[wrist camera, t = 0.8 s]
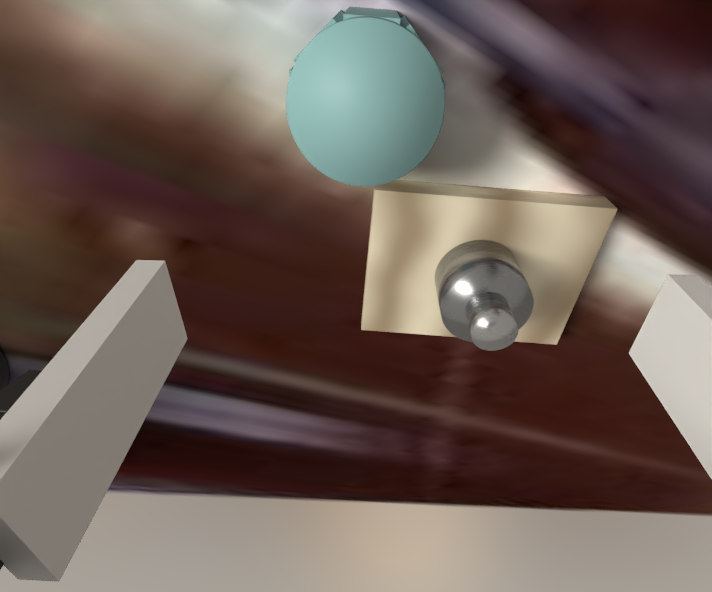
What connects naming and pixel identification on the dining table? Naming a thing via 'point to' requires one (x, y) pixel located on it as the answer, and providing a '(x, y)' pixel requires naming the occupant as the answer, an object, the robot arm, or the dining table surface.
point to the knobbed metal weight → (483, 294)
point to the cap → (365, 98)
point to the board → (478, 222)
